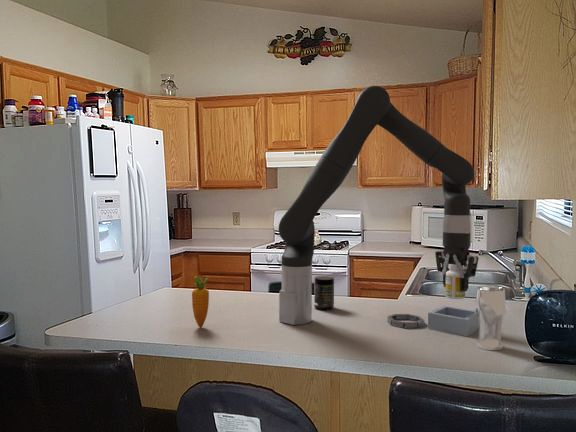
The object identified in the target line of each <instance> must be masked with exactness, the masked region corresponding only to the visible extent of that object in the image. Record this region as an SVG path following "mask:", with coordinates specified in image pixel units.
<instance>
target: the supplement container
mask: <svg viewBox="0 0 576 432" xmlns="http://www.w3.org/2000/svg"><path fill="white" fill-rule="evenodd" d="M313 287H314V289H313V290H314V291H313V292H314V296H313V297H314V301H313V302H314V303H313V304H314V308H315V309H316V310H318V311H332V310H333V309H334V308H335V276H329V275H318V276H314V286H313Z"/></svg>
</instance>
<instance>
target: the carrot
mask: <svg viewBox="0 0 576 432" xmlns="http://www.w3.org/2000/svg"><path fill="white" fill-rule="evenodd" d="M193 279H194V281H195V283H193V285H194V286H196V288H194V289H193V290H192V293H191V299H192V301H191V302H192V311H193V317H194V319H195V322H196V324H197V327H199V328H202V327H203V326H204V324H205V321H206V319H207V315H208V310H209V304H210V303H209V302H210V300H209V299H210V291H209V289H208V288H205V286H206V284H207V283H208V281H209V278H208V277H206V278H205V279H204V280H203V279H202V277H198V276H196V275H195V276H194V277H193Z"/></svg>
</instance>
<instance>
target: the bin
mask: <svg viewBox="0 0 576 432" xmlns="http://www.w3.org/2000/svg"><path fill="white" fill-rule="evenodd" d="M427 314H428V315H427V329H428V330H433V331H439V332H444V333H448V334H453V335H458V336H463V337H468V336H470V335H472V334H474V333H475V332H476V331H478V322H477V315H476V310H472V309H465V308H461V307H460V308H459V307H453V306H449V305H448V306H447V305H442V306H439V307H438V308H436V309H434V310H431V311H429V312H427Z"/></svg>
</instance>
